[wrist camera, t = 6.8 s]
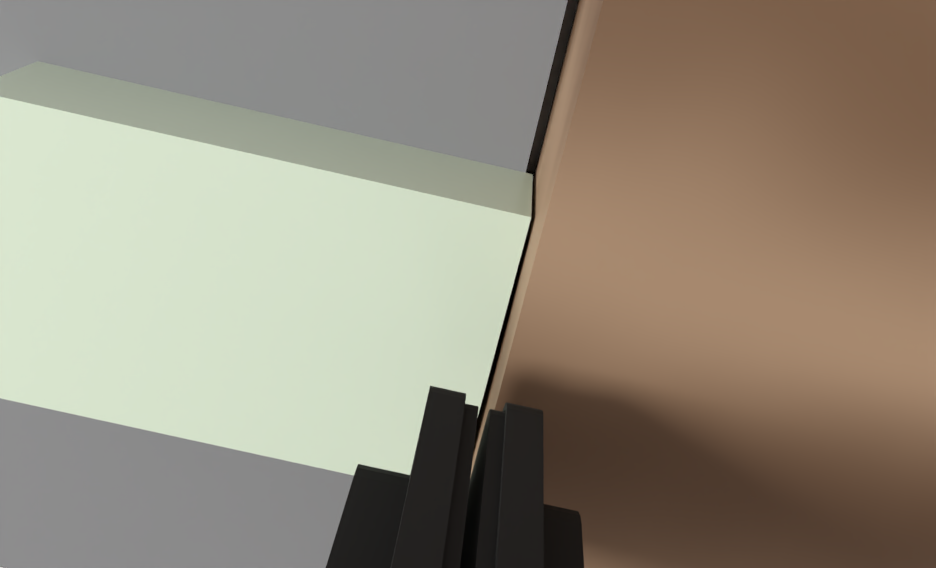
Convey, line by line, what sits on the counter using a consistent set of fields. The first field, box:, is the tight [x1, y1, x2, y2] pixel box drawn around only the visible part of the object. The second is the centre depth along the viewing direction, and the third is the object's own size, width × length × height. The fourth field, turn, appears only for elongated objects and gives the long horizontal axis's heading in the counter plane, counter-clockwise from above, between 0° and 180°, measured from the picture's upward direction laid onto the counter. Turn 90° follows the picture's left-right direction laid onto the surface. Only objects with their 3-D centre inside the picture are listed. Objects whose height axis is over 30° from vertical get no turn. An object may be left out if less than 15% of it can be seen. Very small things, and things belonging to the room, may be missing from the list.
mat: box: [0, 0, 568, 568], centre depth 16 cm, size 20×13×1 cm, turn 169°
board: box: [470, 0, 936, 568], centre depth 15 cm, size 18×12×4 cm, turn 169°
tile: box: [0, 61, 533, 475], centre depth 15 cm, size 6×9×2 cm, turn 78°
